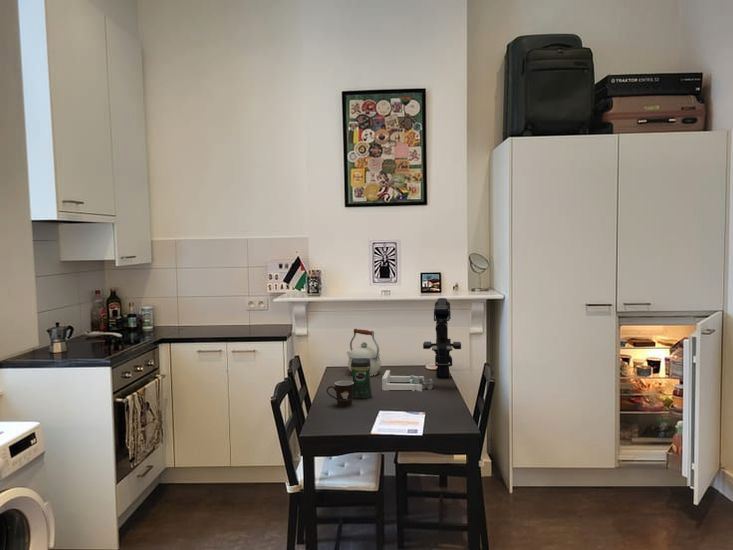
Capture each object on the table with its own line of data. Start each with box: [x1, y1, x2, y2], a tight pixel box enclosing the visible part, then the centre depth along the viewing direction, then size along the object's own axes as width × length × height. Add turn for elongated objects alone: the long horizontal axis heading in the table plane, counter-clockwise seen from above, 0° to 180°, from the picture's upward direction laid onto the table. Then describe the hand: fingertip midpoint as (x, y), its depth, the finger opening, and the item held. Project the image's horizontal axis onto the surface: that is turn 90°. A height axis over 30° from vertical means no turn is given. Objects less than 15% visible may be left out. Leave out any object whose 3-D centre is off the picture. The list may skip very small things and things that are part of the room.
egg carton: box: [417, 376, 434, 390], centre depth 269 cm, size 11×8×4 cm
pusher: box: [409, 374, 415, 384], centre depth 270 cm, size 1×12×5 cm, turn 171°
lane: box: [381, 369, 425, 392], centre depth 271 cm, size 20×18×6 cm
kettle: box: [346, 328, 382, 377], centre depth 299 cm, size 25×18×25 cm
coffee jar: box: [350, 358, 373, 399], centre depth 254 cm, size 10×8×19 cm
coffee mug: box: [326, 380, 354, 408], centre depth 242 cm, size 12×9×10 cm
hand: (442, 362), depth 267 cm, fingers open, 3 cm apart
